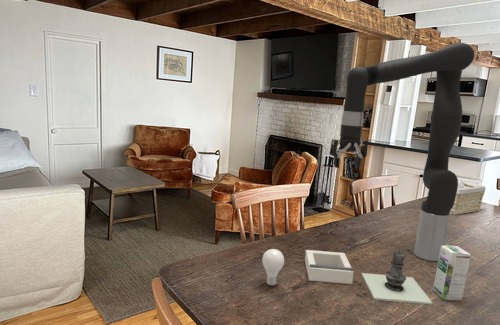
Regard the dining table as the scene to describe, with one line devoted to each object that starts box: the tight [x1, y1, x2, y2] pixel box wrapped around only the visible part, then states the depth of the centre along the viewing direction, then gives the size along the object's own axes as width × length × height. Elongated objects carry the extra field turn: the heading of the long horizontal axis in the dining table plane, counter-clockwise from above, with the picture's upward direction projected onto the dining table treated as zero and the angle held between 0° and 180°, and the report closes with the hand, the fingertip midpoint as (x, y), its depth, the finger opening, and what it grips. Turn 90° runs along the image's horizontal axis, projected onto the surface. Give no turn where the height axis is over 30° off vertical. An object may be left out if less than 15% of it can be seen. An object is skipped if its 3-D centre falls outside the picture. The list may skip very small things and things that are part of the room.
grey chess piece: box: [384, 249, 407, 292], centre depth 103 cm, size 6×6×12 cm
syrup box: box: [432, 244, 472, 301], centre depth 101 cm, size 6×6×14 cm
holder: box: [304, 249, 354, 285], centre depth 111 cm, size 13×13×5 cm
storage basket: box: [449, 179, 486, 216], centre depth 189 cm, size 24×16×15 cm
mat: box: [361, 272, 433, 306], centre depth 104 cm, size 16×14×1 cm
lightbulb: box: [261, 248, 285, 286], centre depth 101 cm, size 6×6×11 cm
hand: (346, 167), depth 129 cm, fingers open, 8 cm apart
